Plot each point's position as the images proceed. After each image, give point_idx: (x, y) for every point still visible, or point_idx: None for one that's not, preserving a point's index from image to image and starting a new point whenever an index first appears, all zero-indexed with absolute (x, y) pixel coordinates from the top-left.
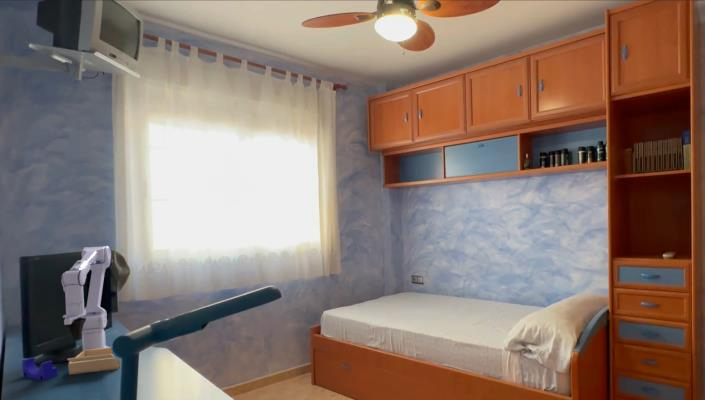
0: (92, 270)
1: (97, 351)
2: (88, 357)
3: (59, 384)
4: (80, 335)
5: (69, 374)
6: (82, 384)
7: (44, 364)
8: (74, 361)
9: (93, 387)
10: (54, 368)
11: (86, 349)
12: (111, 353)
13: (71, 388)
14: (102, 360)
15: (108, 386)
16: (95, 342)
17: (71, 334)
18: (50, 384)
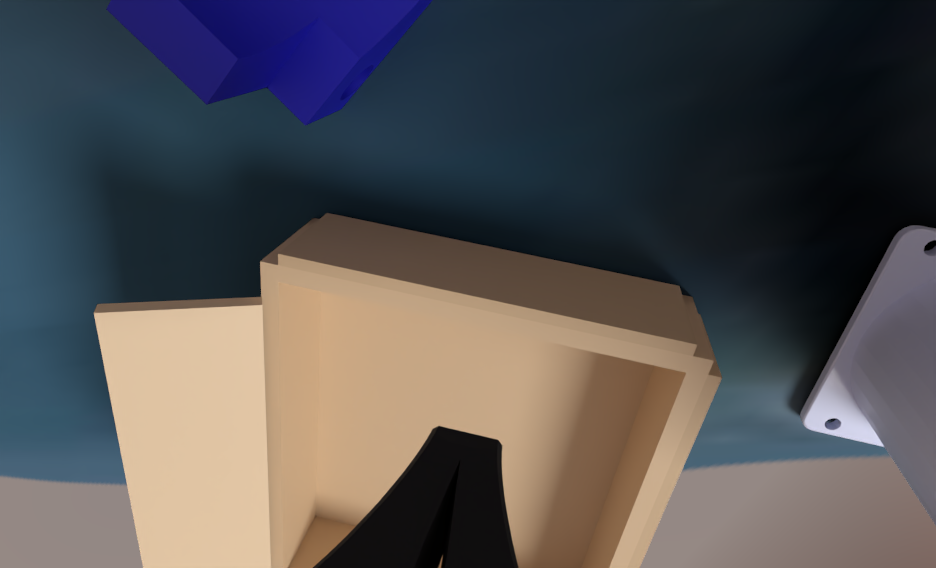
0: None
1: (645, 457)
2: (134, 467)
3: (113, 179)
4: (442, 559)
5: (314, 219)
6: (83, 334)
7: (130, 22)
8: (237, 323)
9: (28, 394)
10: (289, 102)
11: (916, 342)
12: (605, 521)
13: (27, 277)
14: (272, 496)
15: (32, 458)
16: (914, 484)
17: (390, 491)
18: (128, 102)
